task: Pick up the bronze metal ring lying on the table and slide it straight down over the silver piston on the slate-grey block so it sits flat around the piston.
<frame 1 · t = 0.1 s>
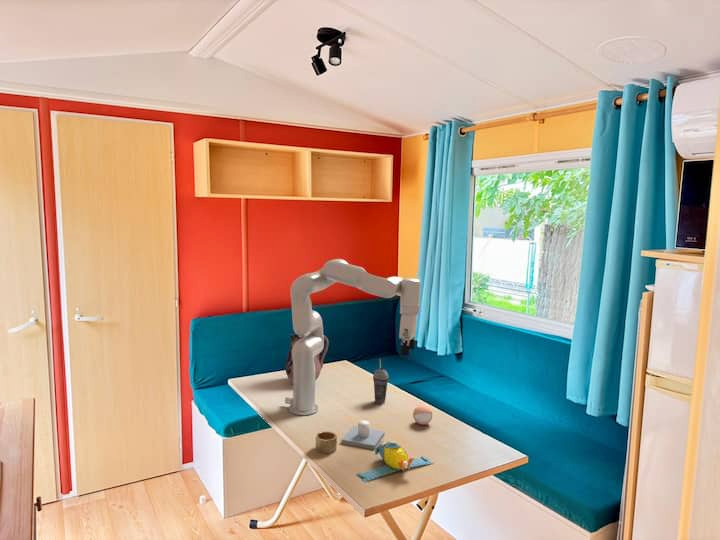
hand: (407, 352, 199), 31 cm above the table, tool pointing down, fingers open, 9 cm apart
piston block: (363, 439, 190), on the table
toy ball: (422, 424, 206), on the table
ceramic pitcher: (306, 382, 252), on the table
toy parrot figure: (393, 469, 170), on the table
beverage cup: (379, 402, 229), on the table
ring: (325, 449, 181), on the table
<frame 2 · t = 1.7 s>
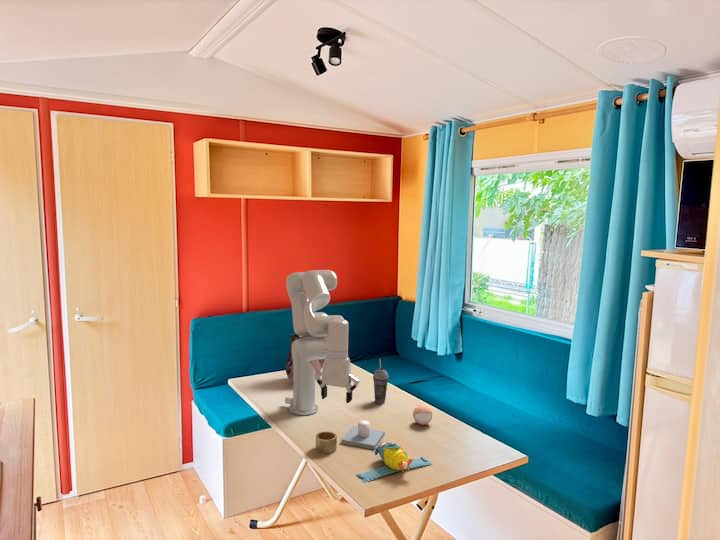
hand: (336, 399, 181), 18 cm above the table, tool pointing down, fingers open, 9 cm apart
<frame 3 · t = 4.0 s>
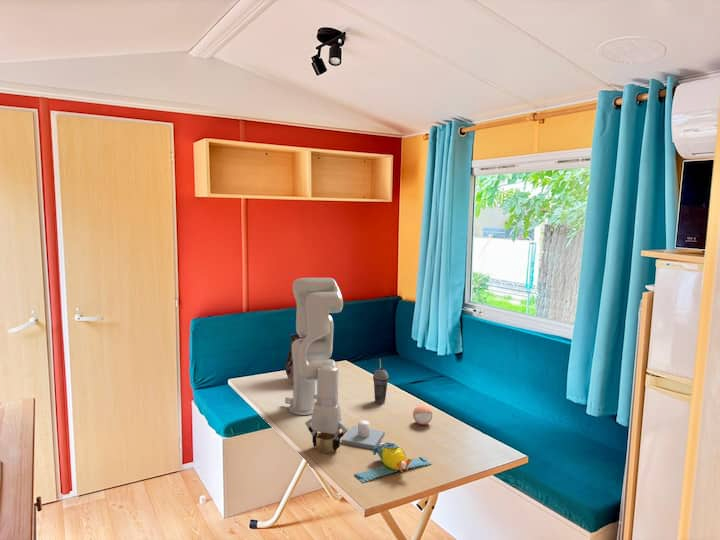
hand: (326, 446, 181), 1 cm above the table, tool pointing down, fingers closed on ring, 7 cm apart
ring: (325, 449, 181), on the table, touching gripper
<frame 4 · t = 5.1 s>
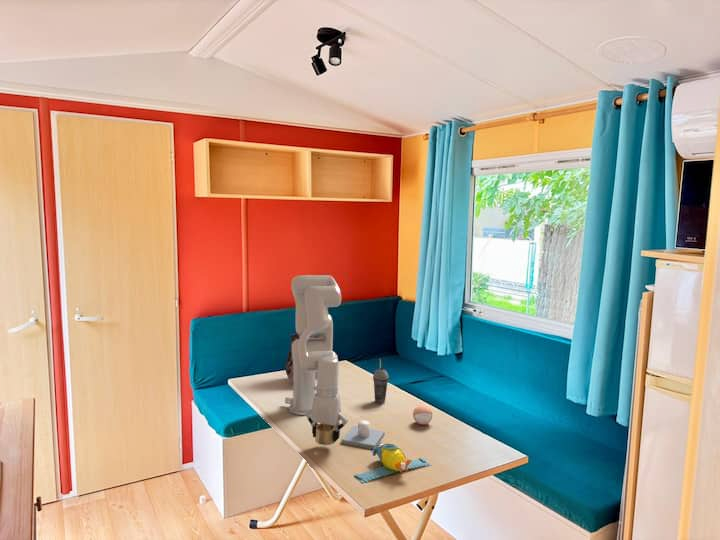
hand: (325, 437, 182), 4 cm above the table, tool pointing down, fingers closed on ring, 7 cm apart
ring: (325, 440, 182), point 3 cm above the table, touching gripper
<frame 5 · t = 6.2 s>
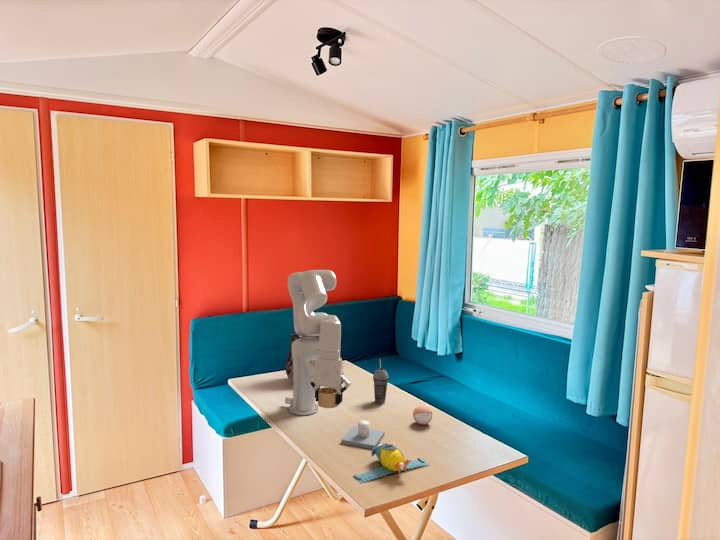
hand: (328, 401, 180), 18 cm above the table, tool pointing down, fingers closed on ring, 7 cm apart
ring: (328, 404, 180), point 17 cm above the table, touching gripper
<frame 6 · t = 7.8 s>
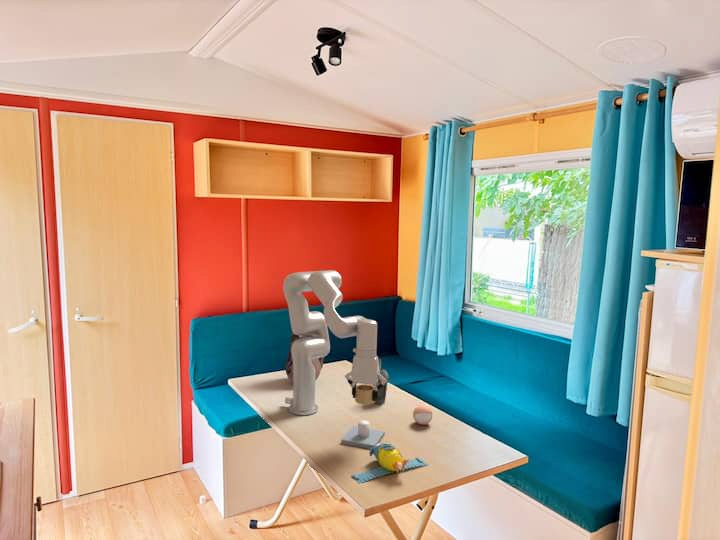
hand: (365, 398, 189), 16 cm above the table, tool pointing down, fingers closed on ring, 7 cm apart
ring: (364, 400, 189), point 15 cm above the table, touching gripper
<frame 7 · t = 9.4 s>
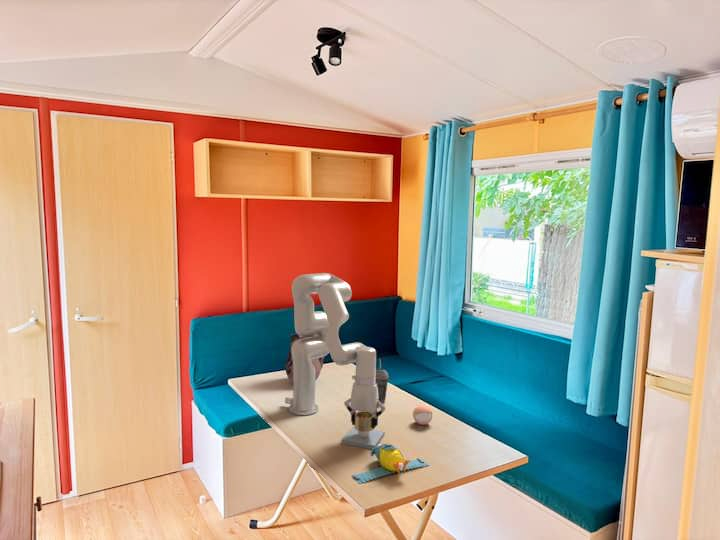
hand: (364, 425, 190), 6 cm above the table, tool pointing down, fingers closed on ring, 7 cm apart
ring: (364, 427, 190), point 5 cm above the table, touching gripper
when the fingers open (4 cm above the table, at t = 10.5 s): ring drops 1 cm, resting on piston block.
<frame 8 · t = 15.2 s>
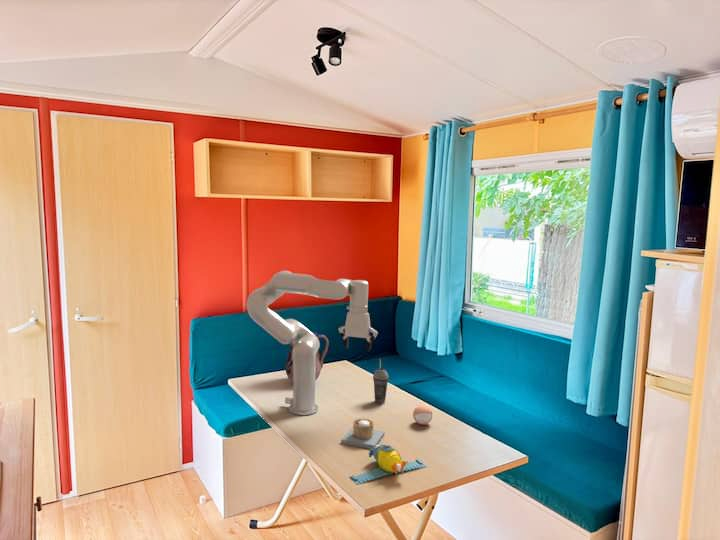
hand: (357, 349, 212), 28 cm above the table, tool pointing down, fingers open, 9 cm apart
ring: (363, 435, 190), point 1 cm above the table, touching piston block
at the end: ring 0.2 cm from the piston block (horizontally); ring point 1.5 cm above the table; the gripper is holding nothing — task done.
